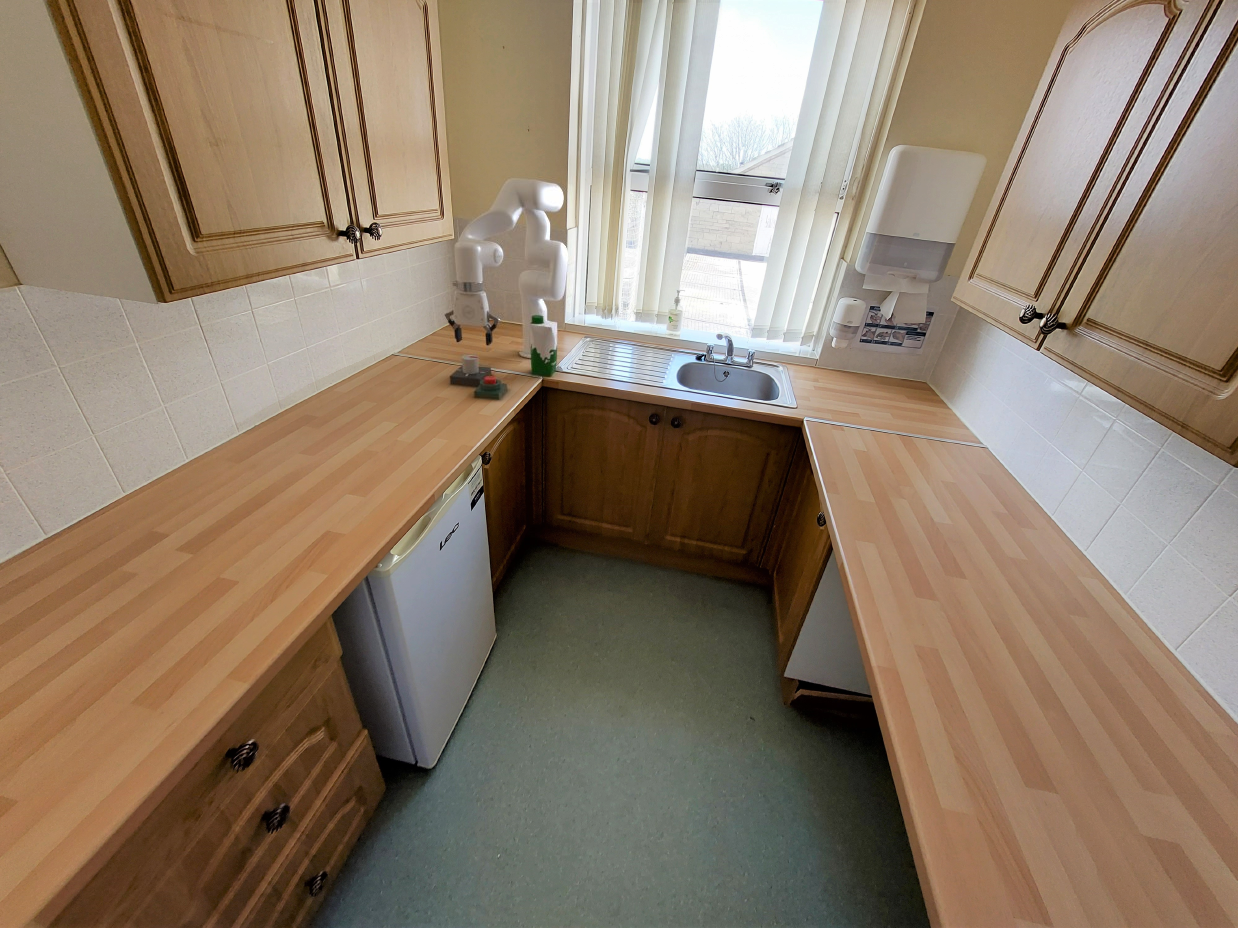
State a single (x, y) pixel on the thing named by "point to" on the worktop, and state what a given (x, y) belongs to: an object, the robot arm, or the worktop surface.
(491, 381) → the button
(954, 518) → the worktop surface
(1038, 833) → the worktop surface
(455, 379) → the dial panel
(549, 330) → the milk carton
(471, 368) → the dial knob
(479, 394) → the button box
